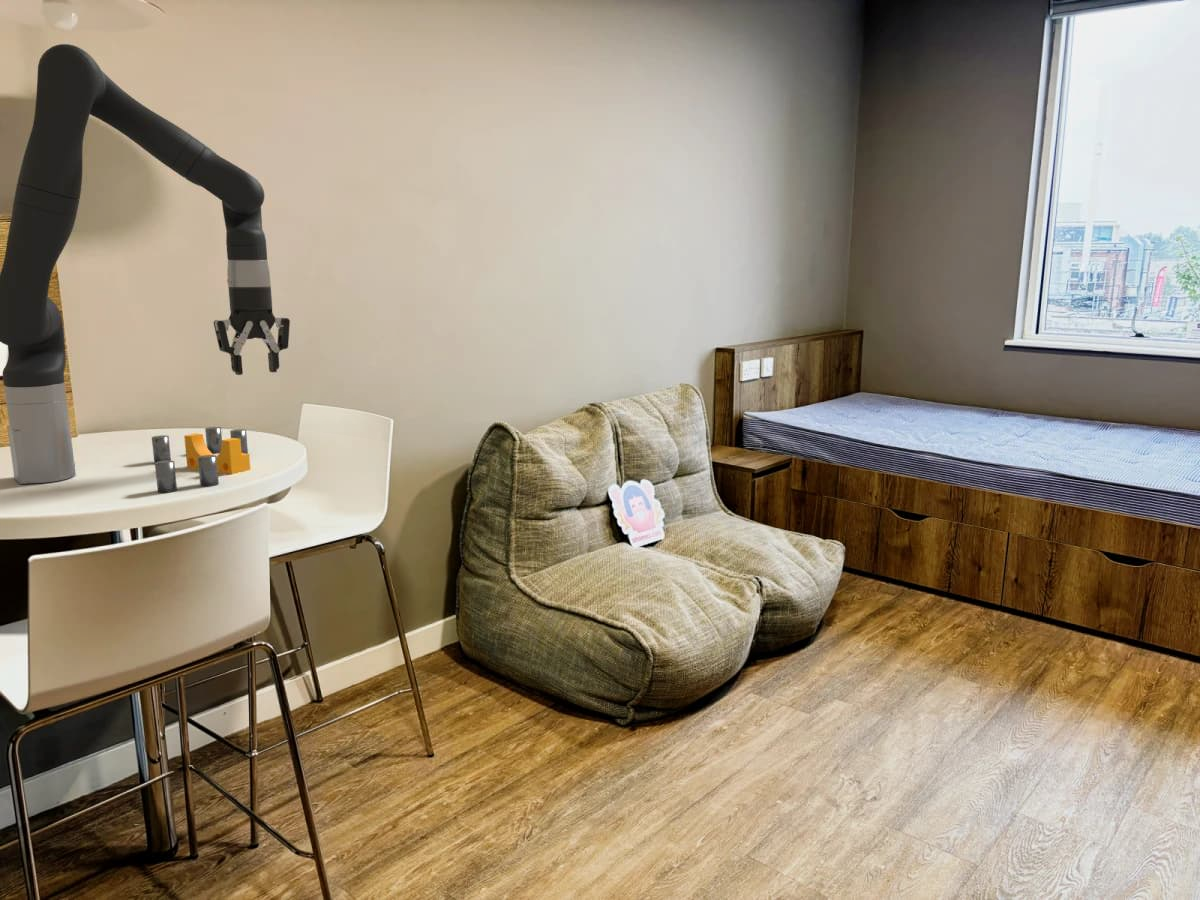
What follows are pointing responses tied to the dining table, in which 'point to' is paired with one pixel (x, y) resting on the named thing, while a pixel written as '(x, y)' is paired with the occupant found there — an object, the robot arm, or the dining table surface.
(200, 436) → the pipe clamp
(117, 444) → the dining table surface
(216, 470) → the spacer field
